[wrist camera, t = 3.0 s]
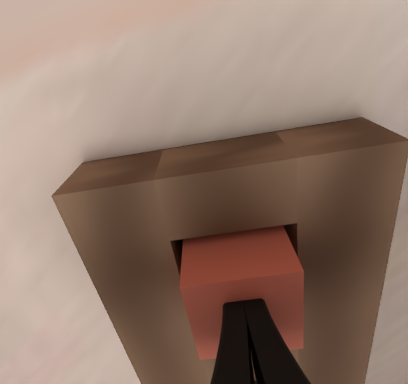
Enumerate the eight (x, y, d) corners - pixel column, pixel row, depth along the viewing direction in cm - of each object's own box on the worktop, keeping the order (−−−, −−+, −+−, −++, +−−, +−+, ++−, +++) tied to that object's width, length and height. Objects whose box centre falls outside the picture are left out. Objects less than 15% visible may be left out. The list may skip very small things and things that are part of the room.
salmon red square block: (278, 214, 12) (304, 271, 9) (281, 283, 14) (303, 348, 11) (184, 227, 12) (179, 287, 9) (199, 293, 14) (200, 360, 11)
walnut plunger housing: (362, 117, 12) (410, 140, 9) (335, 384, 21) (354, 434, 18) (82, 162, 12) (51, 196, 10) (176, 401, 22) (173, 451, 19)
